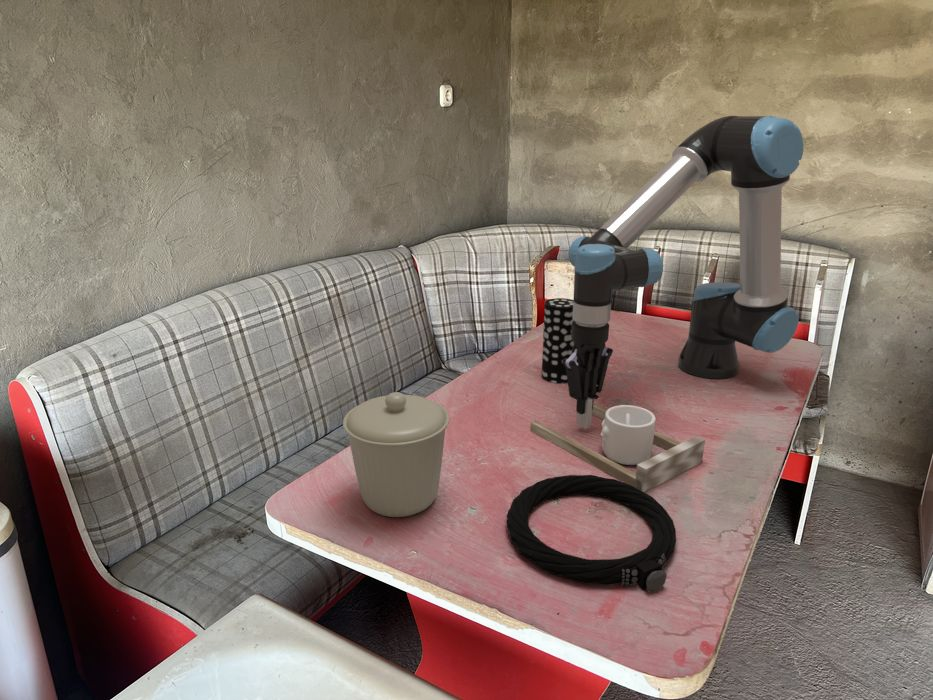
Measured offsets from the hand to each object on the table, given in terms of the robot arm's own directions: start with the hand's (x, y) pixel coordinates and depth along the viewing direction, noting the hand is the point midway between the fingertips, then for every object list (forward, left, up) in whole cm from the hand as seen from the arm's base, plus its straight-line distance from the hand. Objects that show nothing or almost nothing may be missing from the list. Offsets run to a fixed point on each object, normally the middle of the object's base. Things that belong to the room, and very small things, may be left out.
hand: (583, 425), depth 142 cm
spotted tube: (-16, -25, -2) cm, 30 cm away
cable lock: (+26, +26, -2) cm, 37 cm away
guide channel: (0, +8, -1) cm, 8 cm away
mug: (0, +12, -2) cm, 12 cm away
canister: (+46, -2, -2) cm, 46 cm away
